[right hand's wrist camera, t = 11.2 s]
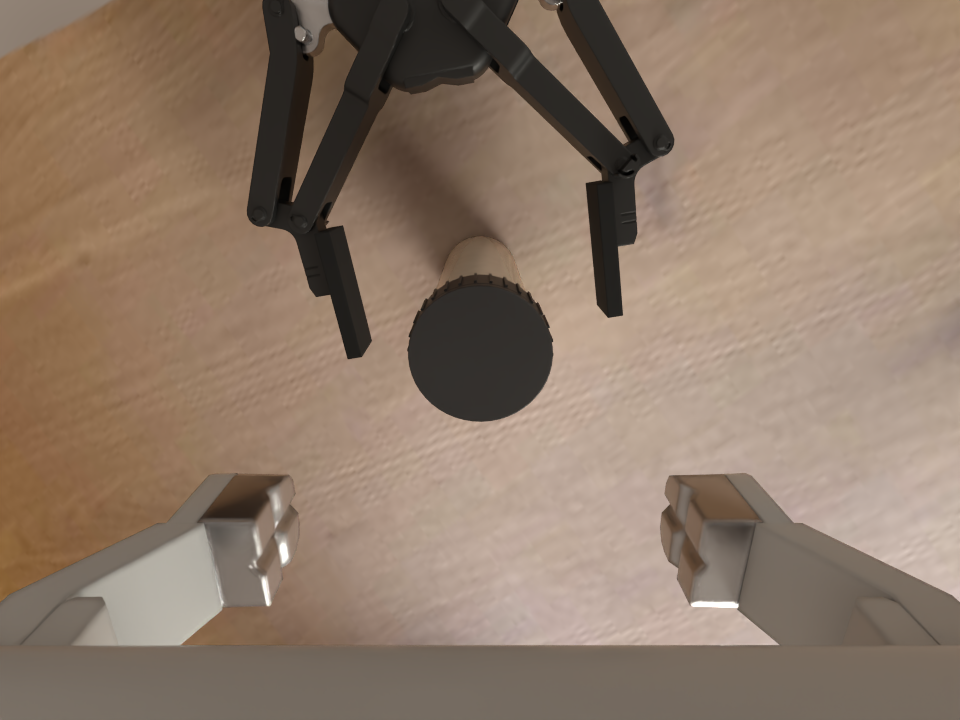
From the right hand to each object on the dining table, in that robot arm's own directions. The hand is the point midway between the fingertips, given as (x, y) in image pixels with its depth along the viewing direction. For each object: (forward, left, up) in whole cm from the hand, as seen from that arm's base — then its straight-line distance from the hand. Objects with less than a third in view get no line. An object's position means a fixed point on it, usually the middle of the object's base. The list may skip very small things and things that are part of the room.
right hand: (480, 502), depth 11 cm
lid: (0, 0, -9) cm, 9 cm away
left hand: (-1, -1, -18) cm, 18 cm away
